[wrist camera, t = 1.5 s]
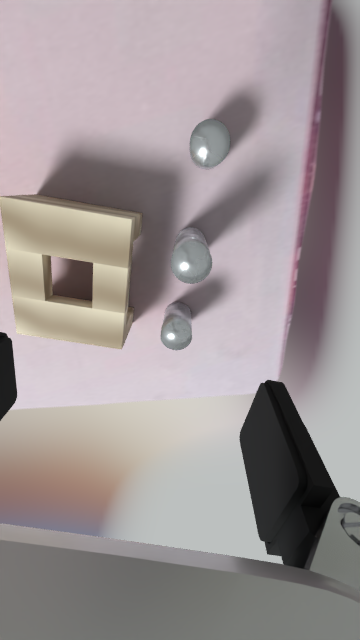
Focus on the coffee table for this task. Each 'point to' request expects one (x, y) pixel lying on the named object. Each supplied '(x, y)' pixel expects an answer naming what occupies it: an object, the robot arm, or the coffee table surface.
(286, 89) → the coffee table surface
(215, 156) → the short pin
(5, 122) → the coffee table surface
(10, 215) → the bridge
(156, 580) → the robot arm
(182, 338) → the medium pin
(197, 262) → the long pin
